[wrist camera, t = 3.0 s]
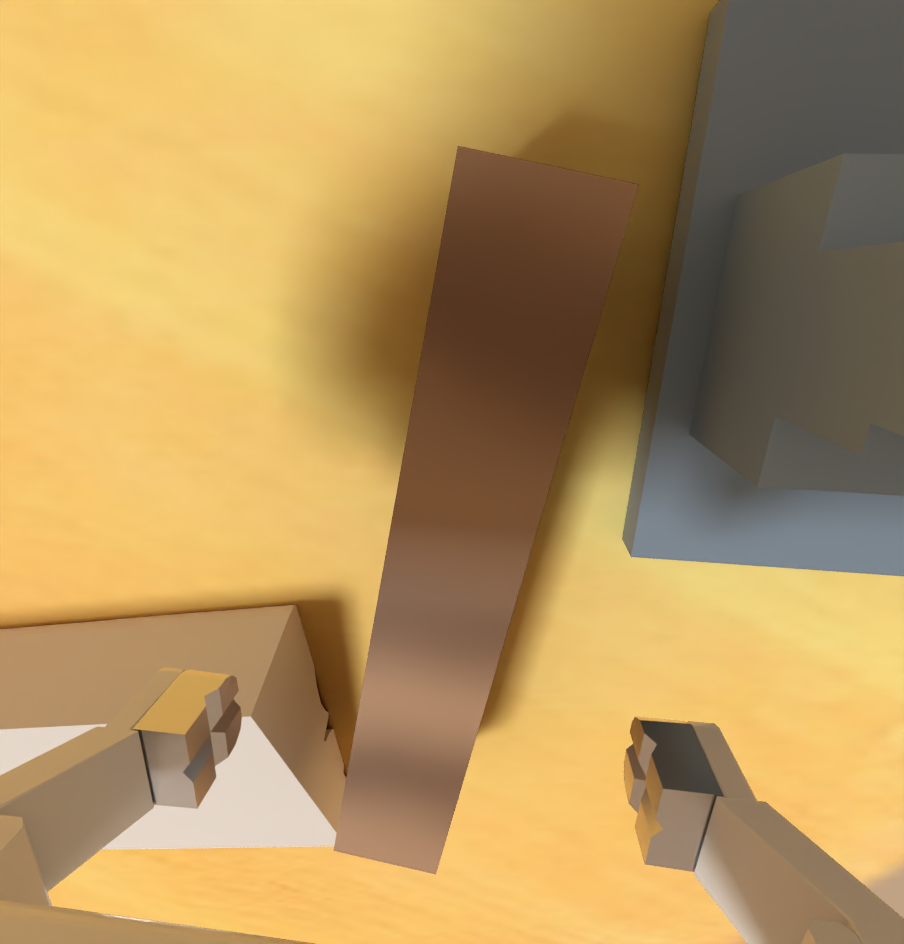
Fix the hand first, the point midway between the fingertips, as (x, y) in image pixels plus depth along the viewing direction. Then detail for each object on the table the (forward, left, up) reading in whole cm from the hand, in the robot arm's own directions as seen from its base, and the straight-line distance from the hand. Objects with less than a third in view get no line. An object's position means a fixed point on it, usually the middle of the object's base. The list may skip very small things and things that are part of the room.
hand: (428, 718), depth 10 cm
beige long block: (+11, -22, -8) cm, 26 cm away
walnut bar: (-1, 0, -8) cm, 8 cm away
